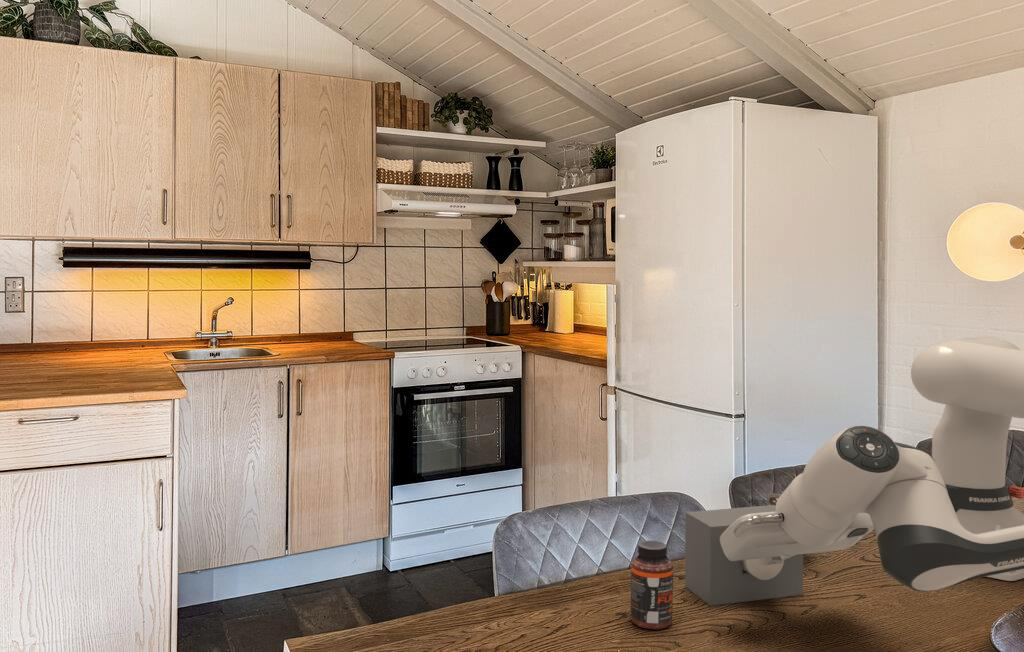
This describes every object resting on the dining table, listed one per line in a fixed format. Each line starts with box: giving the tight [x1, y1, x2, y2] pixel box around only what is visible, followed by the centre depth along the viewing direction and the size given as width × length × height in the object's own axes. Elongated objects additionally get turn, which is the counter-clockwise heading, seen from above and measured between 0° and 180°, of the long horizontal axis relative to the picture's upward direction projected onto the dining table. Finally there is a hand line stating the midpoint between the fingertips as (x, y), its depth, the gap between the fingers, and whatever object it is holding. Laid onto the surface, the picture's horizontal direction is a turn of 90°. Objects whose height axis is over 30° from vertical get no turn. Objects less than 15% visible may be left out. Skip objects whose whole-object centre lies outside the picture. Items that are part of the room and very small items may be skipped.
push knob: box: [742, 558, 784, 580], centre depth 121 cm, size 6×8×6 cm
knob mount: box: [684, 505, 804, 607], centre depth 124 cm, size 16×8×12 cm, turn 105°
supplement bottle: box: [630, 540, 674, 631], centre depth 112 cm, size 6×6×11 cm
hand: (769, 560), depth 117 cm, fingers closed
